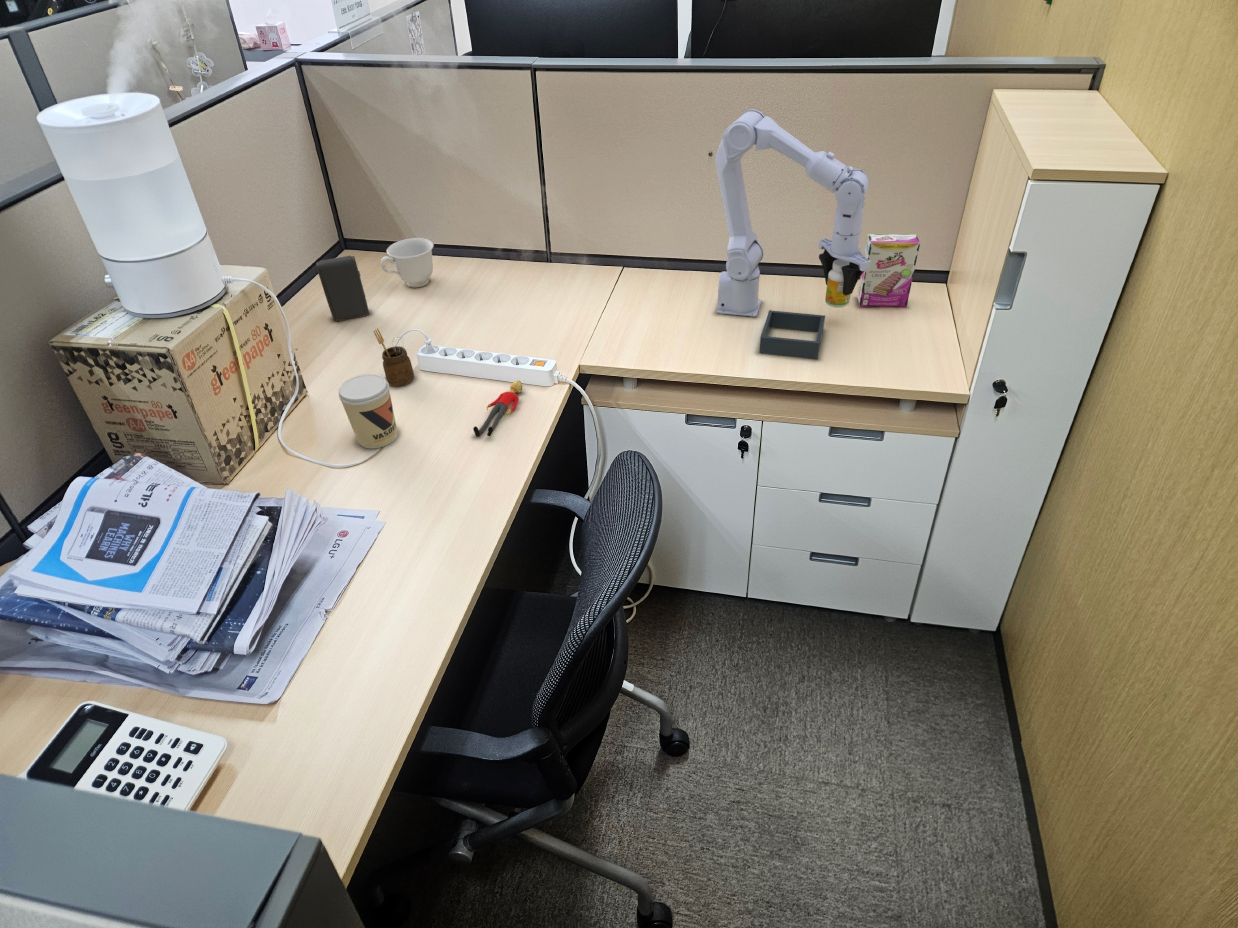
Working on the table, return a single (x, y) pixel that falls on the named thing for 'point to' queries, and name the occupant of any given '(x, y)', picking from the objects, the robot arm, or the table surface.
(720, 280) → the robot arm
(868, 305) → the candy bar box
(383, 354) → the utensil holder
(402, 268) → the teacup
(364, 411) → the beige lidded canister
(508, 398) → the person figure
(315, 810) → the table surface
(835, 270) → the supplement bottle
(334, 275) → the dark grey upright block
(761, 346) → the tray
